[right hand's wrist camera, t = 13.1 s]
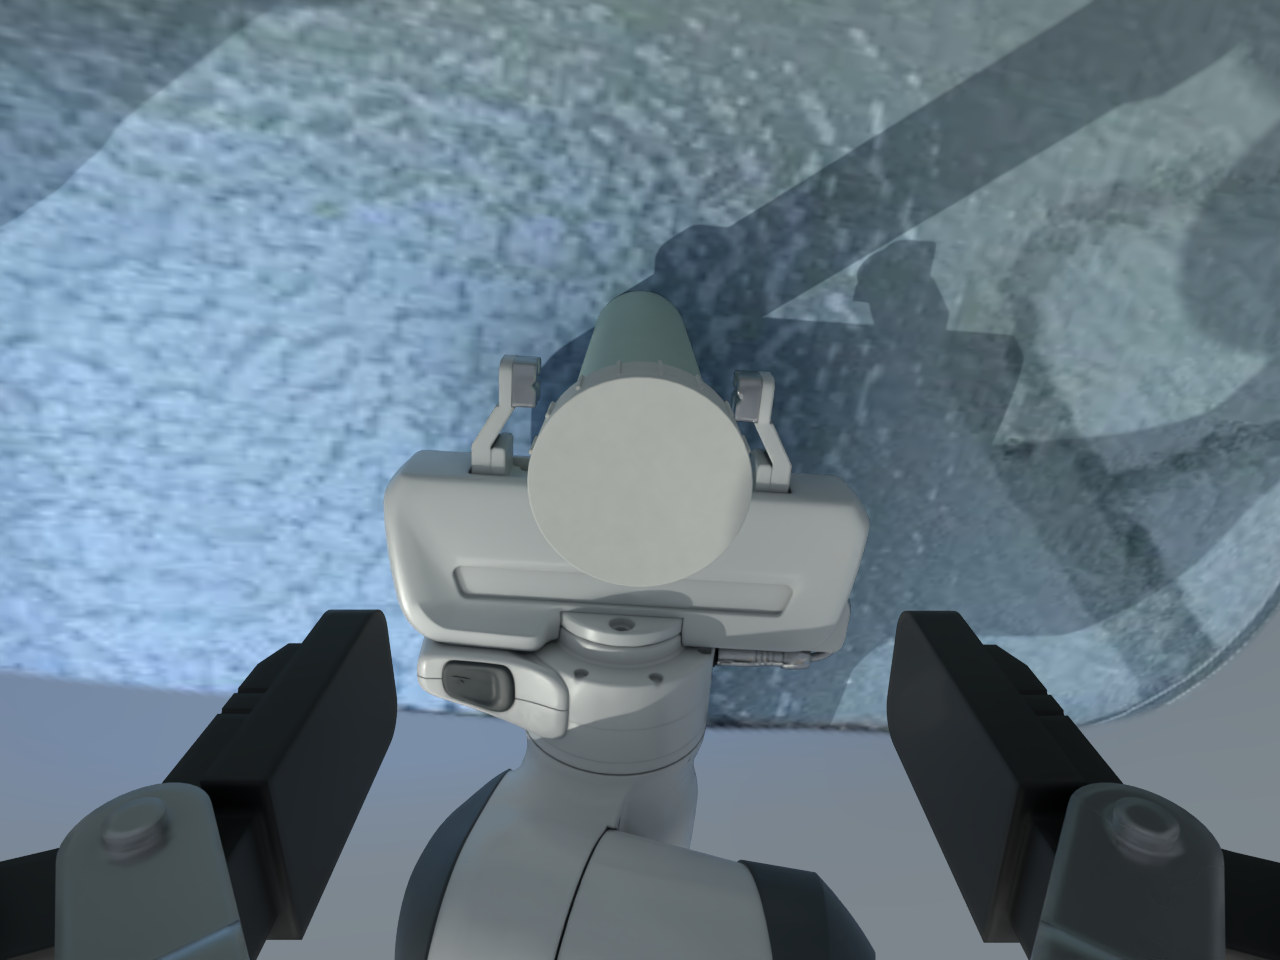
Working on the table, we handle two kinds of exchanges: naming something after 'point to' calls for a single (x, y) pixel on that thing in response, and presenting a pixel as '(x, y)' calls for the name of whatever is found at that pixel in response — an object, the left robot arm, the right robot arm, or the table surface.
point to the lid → (640, 474)
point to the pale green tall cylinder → (639, 334)
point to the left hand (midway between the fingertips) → (638, 365)
